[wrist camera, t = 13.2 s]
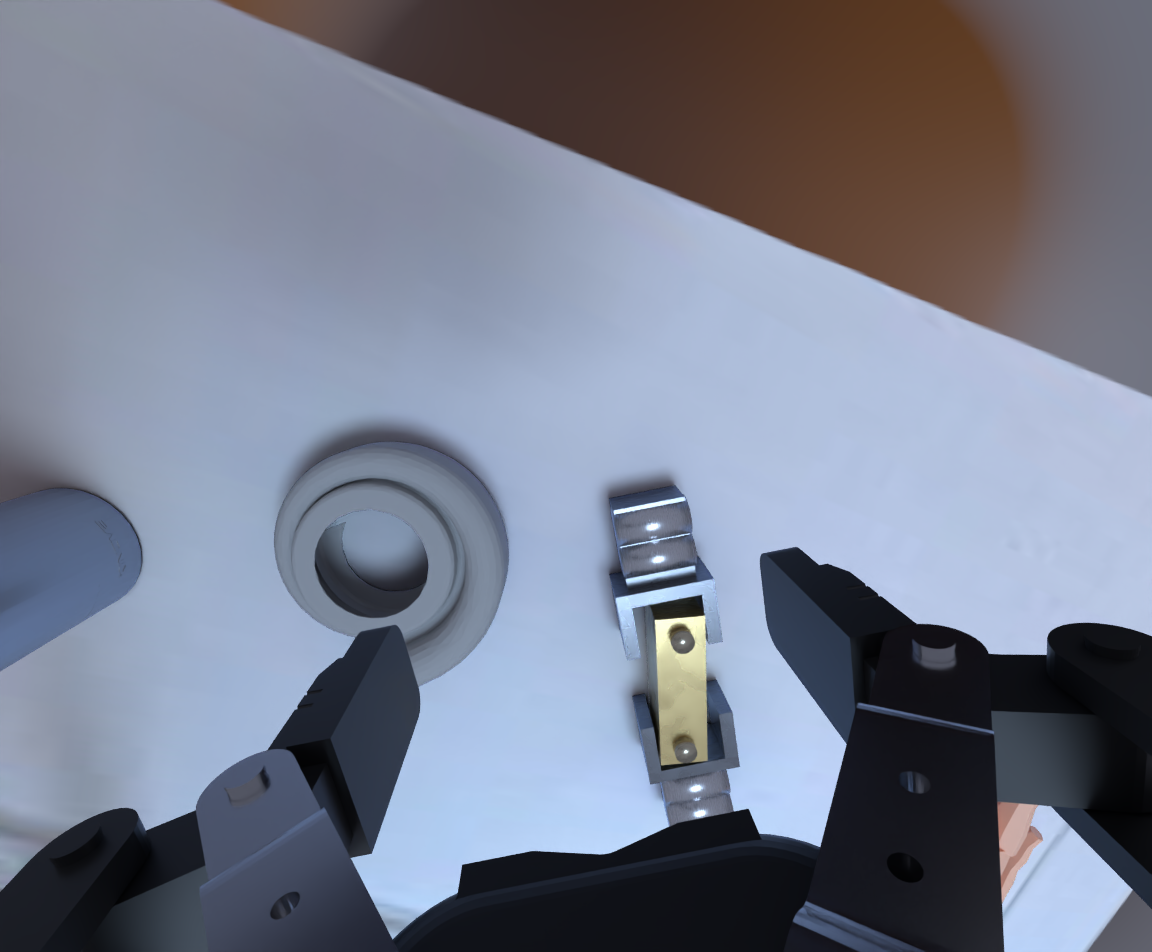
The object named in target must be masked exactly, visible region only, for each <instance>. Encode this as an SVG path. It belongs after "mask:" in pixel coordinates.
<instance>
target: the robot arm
mask: <svg viewBox="0 0 1152 952" xmlns="http://www.w3.org/2000/svg"><path fill="white" fill-rule="evenodd" d="M141 563H142V561H141V549H140V546H139V542H138V539H137V536H136V535H135V533H134V531H133V529H132V527H131V525H130V524H129V523H128V522H127V520H126V519H125V518H124V517H123V516H122V514H121V513H119V512H118V511H117V510H116V509H115V508H114V507H112V506H111V505H110V504H109V503H107V502H105V501H103V500H102V499H100V498H98V497H97V496H94V495H91V494H89V493H86V492H83V491H79V490H74V489H69V488H53V489H48V490H43V491H39V492H35V493H32V494H29V495H25V496H22V497H19V498H15V499H12V500H9V501H6V502H2V503H0V671H2V670H3V669H5V668H7V667H8V666H10V665H12V664H13V663H15V662H17V661H18V660H20V659H22V658H23V657H25V656H27V655H28V654H30V653H31V652H33V651H35V650H36V649H38V648H40V647H41V646H43V645H45V644H46V643H48V642H50V641H51V640H53V639H54V638H56V637H58V636H59V635H61V634H63V633H64V632H66V631H68V630H69V629H71V628H73V627H75V626H76V625H78V624H79V623H81V622H83V621H84V620H86V619H88V618H89V617H91V616H93V615H94V614H96V613H98V612H99V611H101V610H102V609H104V608H106V607H107V606H109V605H111V604H112V603H114V602H116V601H117V600H119V599H120V598H121V597H123V596H124V595H126V594H127V593H128V592H129V590H130V589H131V588H132V587H133V586H134V584H135V582H136V580H137V578H138V576H139V574H140V568H141ZM760 569H761V578H762V587H763V596H764V605H765V614H766V621H767V626H768V630H769V633H770V636H771V638H772V641H773V643H774V645H775V647H776V648H777V650H778V651H779V652H780V654H781V655H782V656H783V658H784V659H785V660H786V662H787V663H788V665H789V666H790V667H791V669H792V670H793V671H794V673H795V674H796V675H797V677H798V678H799V680H800V681H801V682H802V684H803V685H804V686H805V688H806V689H807V690H808V692H809V693H810V695H811V696H812V697H813V699H814V700H815V701H816V703H817V704H818V705H819V707H820V708H821V710H822V711H823V712H824V714H825V715H826V716H827V718H828V719H829V720H830V722H831V723H832V725H833V726H834V727H835V729H836V730H837V731H838V733H839V734H840V736H841V737H842V738H843V740H844V741H845V742H846V744H847V745H846V749H845V753H844V757H843V761H842V765H841V769H840V772H839V776H838V780H837V784H836V788H835V792H834V796H833V800H832V804H831V808H830V811H829V815H828V819H827V823H826V827H825V831H824V835H823V839H822V843H821V847H818V846H815V845H813V844H810V843H807V842H803V841H800V840H796V839H792V838H789V837H783V836H776V835H770V834H759V832H758V830H757V828H756V825H755V823H754V821H753V818H752V816H751V814H750V811H749V809H745V810H740V811H735V812H730V813H725V814H720V815H714V816H709V817H704V818H699V819H694V820H689V821H684V822H679V823H676V824H674V825H672V826H670V827H667V828H665V829H663V830H661V831H659V832H657V833H654V834H652V835H650V836H648V837H646V838H643V839H641V840H639V841H637V842H635V843H633V844H630V845H628V846H626V847H624V848H622V849H619V850H617V851H615V852H612V853H609V854H601V855H599V854H579V853H560V852H541V851H531V852H525V853H520V854H515V855H510V856H505V857H500V858H495V859H490V860H485V861H480V862H474V863H469V864H464V865H462V870H461V876H460V883H459V889H458V893H457V894H455V895H453V896H451V897H449V898H447V899H445V900H443V901H442V902H440V903H438V904H437V905H435V906H433V907H432V908H430V909H429V910H427V911H426V912H425V913H423V914H422V915H420V916H419V917H418V918H416V919H415V920H414V921H413V922H411V923H410V924H409V925H408V926H407V927H406V928H404V929H403V930H402V931H401V932H400V933H399V934H398V935H397V936H396V937H395V938H394V939H393V940H392V938H391V936H390V934H389V932H388V930H387V928H386V926H385V924H384V922H383V920H382V918H381V916H380V914H379V912H378V910H377V908H376V907H375V905H374V903H373V901H372V899H371V897H370V895H369V893H368V891H367V889H366V887H365V885H364V883H363V881H362V879H361V877H360V875H359V873H358V872H357V870H356V868H355V866H354V864H353V862H352V860H351V858H352V857H357V856H362V855H367V854H372V851H373V848H374V846H375V843H376V840H377V837H378V834H379V831H380V828H381V825H382V822H383V819H384V816H385V814H386V811H387V808H388V805H389V802H390V799H391V796H392V793H393V790H394V787H395V784H396V781H397V779H398V776H399V773H400V770H401V767H402V764H403V761H404V758H405V755H406V752H407V749H408V746H409V744H410V741H411V738H412V735H413V732H414V729H415V726H416V723H417V720H418V717H419V713H420V693H419V688H418V684H417V681H416V677H415V674H414V671H413V667H412V664H411V661H410V657H409V654H408V651H407V647H406V644H405V641H404V637H403V634H402V632H401V630H400V628H399V627H398V626H397V625H391V626H386V627H381V628H375V629H370V630H365V631H361V632H360V633H359V634H358V635H357V637H356V638H355V640H354V641H353V643H352V645H351V646H350V648H349V649H348V651H347V652H346V654H345V655H344V657H343V658H339V659H337V660H336V661H335V662H334V663H332V664H331V665H330V666H329V667H328V668H326V669H325V670H324V671H323V672H322V673H320V674H319V675H318V677H317V678H316V680H315V681H314V683H313V684H312V685H311V687H310V688H309V690H308V691H307V695H305V696H304V697H303V699H302V700H301V702H300V703H299V705H298V706H297V707H298V709H297V710H294V712H293V713H292V715H291V716H290V718H289V719H288V721H287V722H286V724H285V725H284V727H283V728H282V729H281V731H280V732H279V734H278V735H277V737H276V738H275V740H274V741H273V743H272V744H271V746H270V747H269V749H268V750H267V751H263V752H260V753H257V754H254V755H252V756H250V757H247V758H245V759H243V760H241V761H239V762H238V763H236V764H234V765H233V766H231V767H230V768H228V769H227V770H225V771H224V772H223V773H221V774H220V775H219V776H218V777H217V778H215V779H214V780H213V781H212V782H211V783H210V784H209V785H208V786H207V788H206V789H205V790H204V791H203V793H202V794H201V796H200V798H199V799H198V801H197V805H196V810H195V811H193V812H190V813H188V814H186V815H183V816H181V817H178V818H176V819H173V820H171V821H169V822H166V823H164V824H161V825H159V826H156V827H154V828H151V829H149V830H147V831H146V830H145V828H144V826H143V824H142V822H141V820H140V818H139V816H138V814H137V812H136V811H135V810H133V809H130V808H119V809H113V810H110V811H106V812H104V813H101V814H98V815H96V816H93V817H91V818H89V819H87V820H85V821H83V822H81V823H79V824H77V825H76V826H74V827H72V828H71V829H69V830H67V831H66V832H64V833H63V834H61V835H60V836H58V837H57V838H55V839H54V840H53V841H52V842H50V843H49V844H48V845H46V846H45V847H44V848H43V849H42V850H40V851H39V852H38V853H37V854H36V855H35V856H34V857H33V858H32V859H31V860H30V861H29V862H28V863H27V864H26V865H25V866H24V867H23V868H22V869H21V871H20V872H19V873H18V874H17V875H16V876H15V877H14V878H13V879H12V880H11V881H10V882H9V883H8V884H7V885H6V886H5V888H4V889H3V890H2V891H1V892H0V952H1004V936H1003V915H1002V893H1001V871H1000V849H999V827H998V806H997V802H1008V803H1020V804H1032V805H1044V806H1051V807H1052V808H1053V809H1054V810H1055V811H1056V812H1057V813H1058V814H1059V815H1060V816H1061V817H1062V818H1063V819H1064V820H1065V821H1066V822H1067V823H1068V824H1069V825H1070V826H1071V827H1072V828H1073V829H1074V830H1075V831H1076V832H1077V833H1078V834H1079V835H1080V837H1081V838H1082V839H1083V840H1084V841H1085V842H1086V843H1087V844H1088V845H1089V846H1090V847H1091V848H1092V849H1093V850H1094V851H1095V852H1096V853H1097V854H1098V855H1099V856H1100V857H1101V858H1102V859H1103V860H1104V861H1105V862H1106V863H1107V864H1108V865H1109V866H1110V867H1111V868H1112V869H1113V870H1114V871H1115V872H1116V873H1117V874H1118V875H1119V876H1120V877H1121V878H1122V879H1123V880H1124V881H1125V882H1126V883H1127V884H1128V885H1129V886H1130V887H1131V888H1132V889H1133V890H1134V891H1135V892H1136V893H1137V894H1138V895H1139V896H1140V897H1141V899H1143V901H1144V902H1146V903H1147V905H1148V906H1149V907H1150V908H1151V909H1152V636H1149V635H1147V634H1144V633H1141V632H1138V631H1135V630H1132V629H1128V628H1124V627H1119V626H1114V625H1108V624H1099V623H1074V624H1067V625H1062V626H1060V627H1057V628H1055V629H1053V630H1052V631H1051V632H1050V633H1049V634H1048V638H1047V655H999V654H988V651H987V649H986V647H985V646H984V645H983V644H982V643H981V642H980V641H978V640H977V639H976V638H974V637H972V636H971V635H969V634H967V633H964V632H962V631H959V630H956V629H953V628H949V627H945V626H940V625H932V624H916V623H915V622H913V621H912V620H911V619H910V618H908V617H907V616H906V615H904V614H903V613H902V612H901V611H899V610H898V609H897V608H895V607H894V606H893V605H892V604H890V603H889V602H888V601H886V600H885V599H884V598H883V597H881V596H880V597H879V596H878V594H877V593H876V592H875V591H874V590H872V589H871V588H870V587H868V586H867V587H866V586H865V583H863V582H862V581H861V580H860V579H858V578H857V577H856V576H854V575H853V574H852V573H851V572H848V571H846V570H843V569H840V568H838V567H835V566H832V565H829V564H824V565H818V564H817V563H816V562H815V561H813V560H812V559H811V558H810V557H809V556H808V555H806V554H805V553H804V552H803V551H802V550H800V549H799V548H798V547H793V548H788V549H783V550H778V551H773V552H768V553H763V554H761V557H760Z"/></svg>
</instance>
